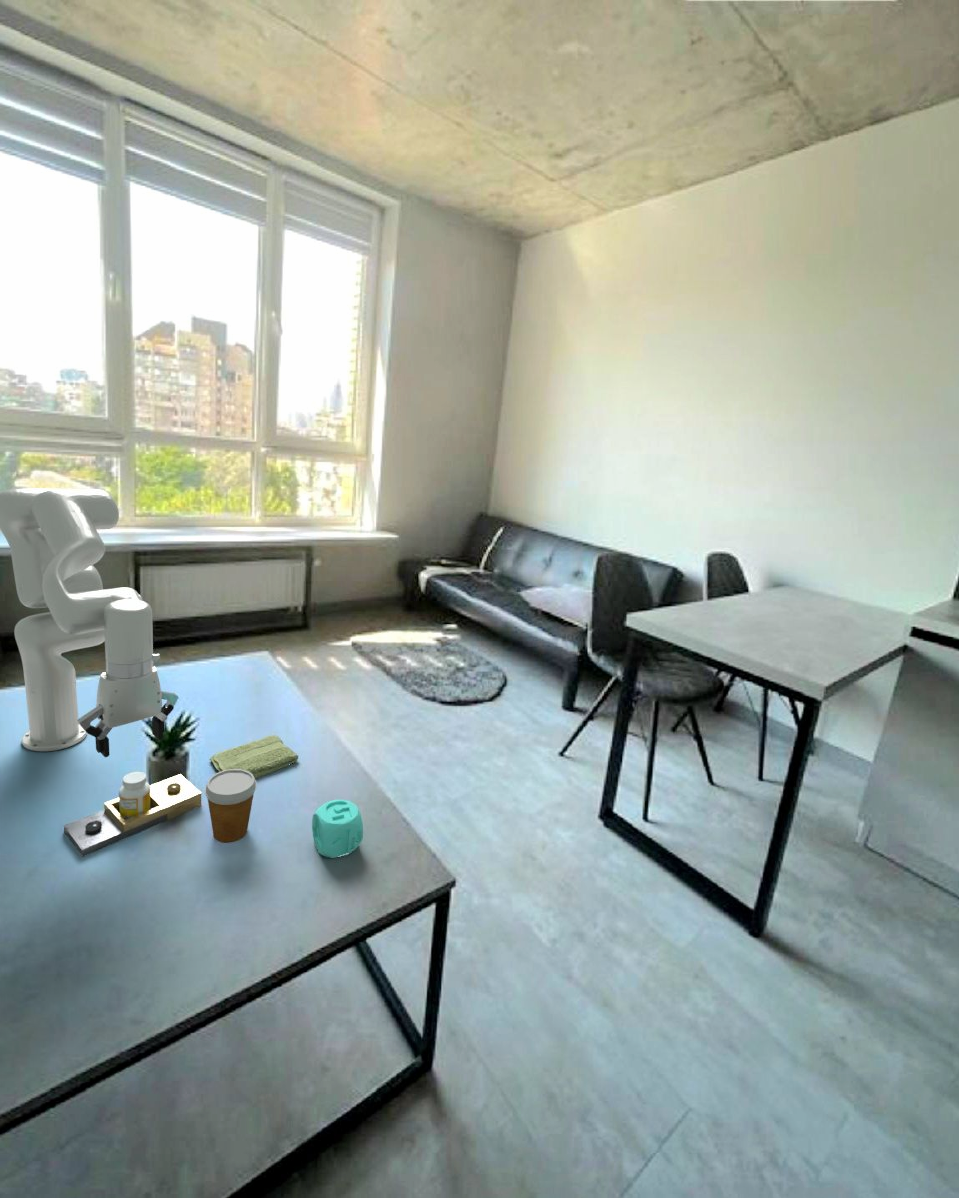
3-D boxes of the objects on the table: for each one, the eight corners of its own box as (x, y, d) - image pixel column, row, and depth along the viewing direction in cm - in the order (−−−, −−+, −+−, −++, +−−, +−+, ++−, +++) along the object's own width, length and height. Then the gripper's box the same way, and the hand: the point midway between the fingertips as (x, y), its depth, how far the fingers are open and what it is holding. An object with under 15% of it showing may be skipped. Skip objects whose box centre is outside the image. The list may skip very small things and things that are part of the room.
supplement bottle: (125, 830, 112) (124, 788, 109) (115, 817, 115) (113, 775, 112) (155, 819, 116) (154, 778, 113) (144, 806, 119) (143, 766, 116)
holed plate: (64, 832, 109) (62, 814, 108) (180, 786, 126) (180, 770, 125) (82, 856, 104) (81, 838, 103) (201, 805, 121) (201, 789, 120)
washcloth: (206, 762, 137) (206, 751, 136) (276, 741, 149) (276, 730, 148) (229, 790, 128) (229, 777, 127) (301, 765, 141) (302, 753, 140)
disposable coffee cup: (265, 826, 118) (267, 776, 115) (232, 855, 109) (233, 802, 106) (228, 811, 121) (229, 762, 117) (193, 839, 112) (192, 786, 109)
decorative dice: (322, 863, 110) (324, 828, 108) (310, 837, 117) (312, 804, 115) (361, 852, 115) (364, 818, 112) (348, 827, 121) (351, 795, 119)
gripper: (168, 648, 115) (168, 723, 120) (67, 669, 101) (72, 752, 106) (186, 662, 111) (185, 738, 116) (84, 685, 97) (88, 770, 102)
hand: (131, 744), depth 111 cm, fingers open, 9 cm apart
